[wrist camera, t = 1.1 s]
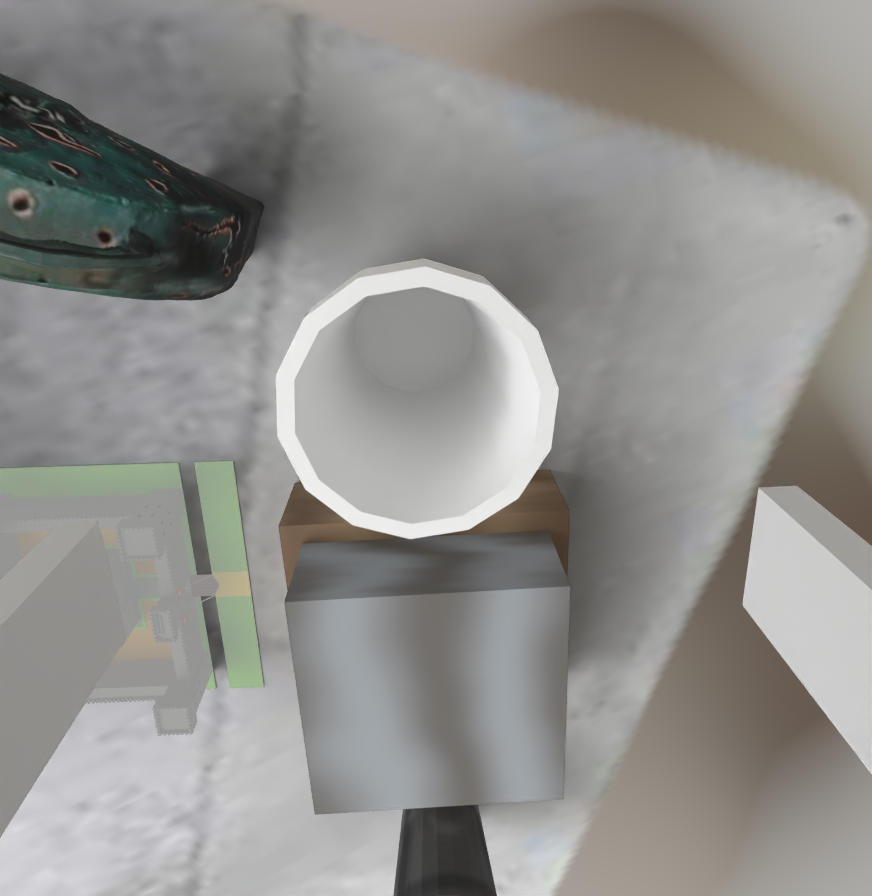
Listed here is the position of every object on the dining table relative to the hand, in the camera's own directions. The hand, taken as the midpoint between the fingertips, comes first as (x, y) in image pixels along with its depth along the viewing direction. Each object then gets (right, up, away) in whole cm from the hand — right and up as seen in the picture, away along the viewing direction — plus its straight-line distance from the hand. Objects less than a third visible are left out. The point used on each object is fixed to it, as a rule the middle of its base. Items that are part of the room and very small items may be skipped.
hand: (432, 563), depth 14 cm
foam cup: (-1, +8, +21) cm, 23 cm away
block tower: (0, -6, +27) cm, 27 cm away
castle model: (-18, -5, +27) cm, 33 cm away
